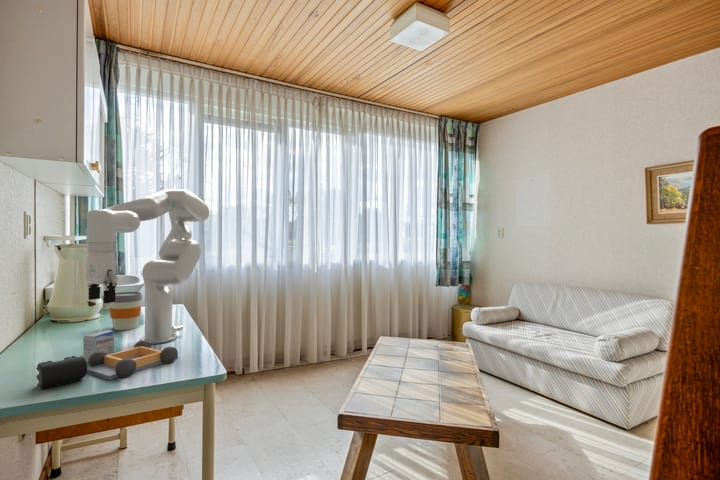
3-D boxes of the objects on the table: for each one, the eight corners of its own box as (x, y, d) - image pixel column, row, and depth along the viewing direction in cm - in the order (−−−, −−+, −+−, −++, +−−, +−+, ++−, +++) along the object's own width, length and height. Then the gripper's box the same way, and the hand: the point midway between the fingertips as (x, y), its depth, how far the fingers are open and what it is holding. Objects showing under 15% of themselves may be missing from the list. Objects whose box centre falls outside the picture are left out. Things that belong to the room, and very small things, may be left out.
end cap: (42, 393, 98) (42, 367, 98) (34, 386, 103) (35, 361, 103) (87, 381, 106) (87, 358, 106) (78, 375, 111) (78, 352, 111)
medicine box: (94, 363, 121) (94, 336, 121) (82, 362, 122) (82, 335, 122) (114, 355, 129) (115, 330, 129) (103, 354, 130) (104, 329, 130)
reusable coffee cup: (111, 332, 158) (111, 297, 158) (105, 327, 167) (106, 293, 167) (144, 328, 166) (145, 294, 166) (138, 322, 176) (138, 290, 176)
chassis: (151, 352, 134) (151, 337, 133) (181, 359, 126) (181, 344, 126) (82, 371, 114) (82, 354, 114) (113, 381, 107) (113, 364, 107)
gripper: (75, 247, 123) (75, 299, 123) (102, 249, 114) (102, 305, 114) (101, 246, 129) (101, 296, 130) (128, 248, 120) (128, 302, 121)
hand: (101, 300), depth 122 cm, fingers open, 9 cm apart
